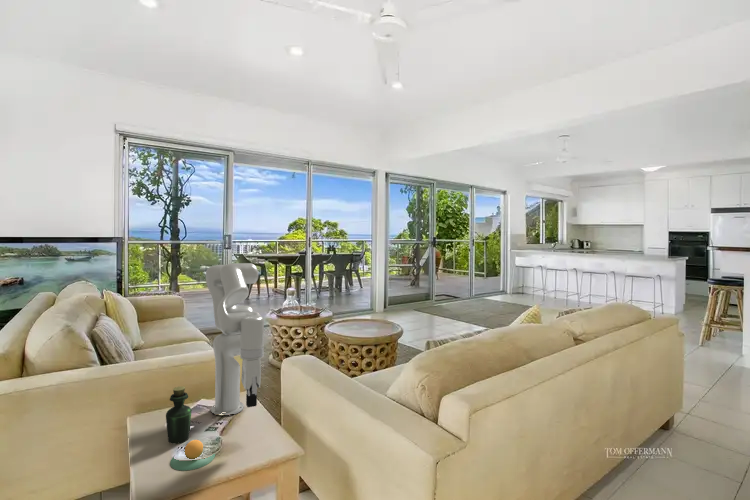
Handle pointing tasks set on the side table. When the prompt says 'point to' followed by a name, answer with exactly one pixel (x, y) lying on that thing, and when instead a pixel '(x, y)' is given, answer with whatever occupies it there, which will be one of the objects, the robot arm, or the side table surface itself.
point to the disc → (190, 463)
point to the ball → (193, 449)
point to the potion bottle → (178, 417)
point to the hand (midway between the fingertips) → (251, 405)
